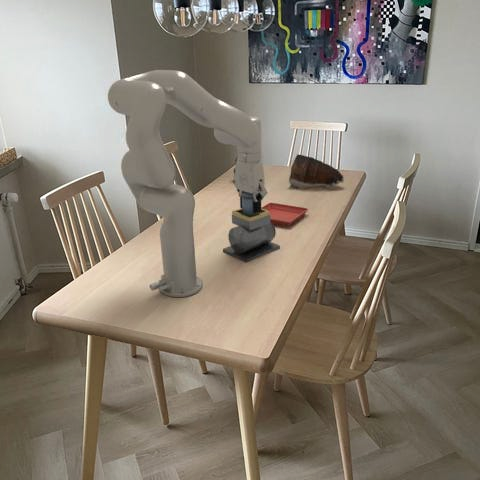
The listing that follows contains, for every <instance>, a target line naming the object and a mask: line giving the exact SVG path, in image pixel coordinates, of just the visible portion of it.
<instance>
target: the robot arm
mask: <svg viewBox="0 0 480 480" xmlns="http://www.w3.org/2000/svg"><path fill="white" fill-rule="evenodd" d="M107 101H108V105H109V106H110V107H111V109H112V110H113V111H114V112H116V113H118V114H120V115H122V116H123V115H124V116H129V119H128V123H127V127H126V130H125V142H126V145H127V148H128V149H129V150H127V151H126V153H124V155H123V157H122V159H121V163H120V168H121V174H122V177H123V179H124V181H125V182H126V184H127V186H128V188H129V190H130V191H131V193H132V195H133V196H134V199H135V201H136V202H137V204H138V205H139V206H140V207H141V208H142V209H143V210H144V211H146V212H148V213H150V214H151V213H152V214H153V215H157V216H160V217H162V218H163V221H162V224H161V226H160V228H159V242H160V248H161V259H162V268H163V269H162V271H163V274H162V275H160V279H159V280H158V281H157V282H154V283H150V284H149V288H150V290H151V291H152V292H154V291H155V290H158V291H159V292H160V293H162V294H163V295H166V296H168V297H172V298H182V297H183V298H184V297H189V296H193V295H194V294H196V293H198V292H200V290H201V289H202V288H203V281H202V279H201V278H200V277H199V276H197V267H196V265H197V263H196V252H195V251H196V250H195V239H194V238H195V236H194V214H195V207H196V199H195V196H194V194H193V193H192V192H191V190H189V189H188V188H187V187H185V186H183V185H179V184H177V183H174V182H175V180H176V177H177V173H176V168H175V165H174V163H173V161H172V158H171V156H170V155H169V153H168V151H167V148H166V146H165V144H164V141H163V140H162V137H161V133H160V124H161V120H162V117H163V114H164V112H165V110H166V106H167V105H171V106H173V107H174V108H175V109H177V110H179V111H180V112H182V113H183V114H184V115H185V116H187V117H188V118H190V120H192V121H193V122H195V123H196V124H199V125H201V126H203V127H206V128H209V129H213V135H214V137H215V139H216V141H217V142H218V143H221V144H223V145H227V146H236V147H237V158H238V160H237V162H236V166H235V167H236V168H235V167H234V168H235V182H233V185H234V187H235V189H236V191H237V194H238V197H239V203H240V204H239V207H240V208H239V209H241V208H242V197H241V194H242V192H247V193H251V194H253V197H254V201H253V213H257V212H260V211H261V208H262V201H263V200H264V198H265V197H266V195H268V193H269V192H268V191H267V189H266V187H265V170H264V164H263V161H262V120H261V118H260V117H258V116H254V115H253V116H249V115H247V114H246V113H245V112H243V111H241V110H240V109H238V108H236V107H235V106H232V105H230V104H228V103H226V102H225V101H223V100H221V99H218V98H217V97H215V96H213V95H212V94H211V93H210V92H208V91H207V90H206V89H205V88H204V87H202V86H201V85H200V84H199V83H198V82H197V81H196V80H194V79H193V78H192V77H191V76H190V75H189V74H187V73H186V72H183V71H181V70H173V69H172V70H171V69H169V70H168V69H156V70H155V69H154V70H150V71H147V72H142V73H139V74H136V75H132V76H128V77H124V78H121V79H118V80H115V81H114V82H113V83H112V84H111V86H110V87H109V89H108V92H107ZM257 193H258V196H257V195H256V194H257Z"/></svg>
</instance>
